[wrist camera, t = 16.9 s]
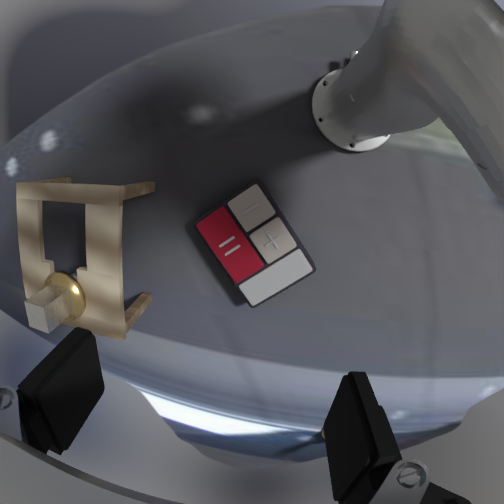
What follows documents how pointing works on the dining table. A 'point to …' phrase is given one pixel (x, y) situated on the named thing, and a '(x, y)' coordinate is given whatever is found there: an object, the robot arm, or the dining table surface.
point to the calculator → (255, 244)
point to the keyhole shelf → (97, 249)
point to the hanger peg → (56, 302)
